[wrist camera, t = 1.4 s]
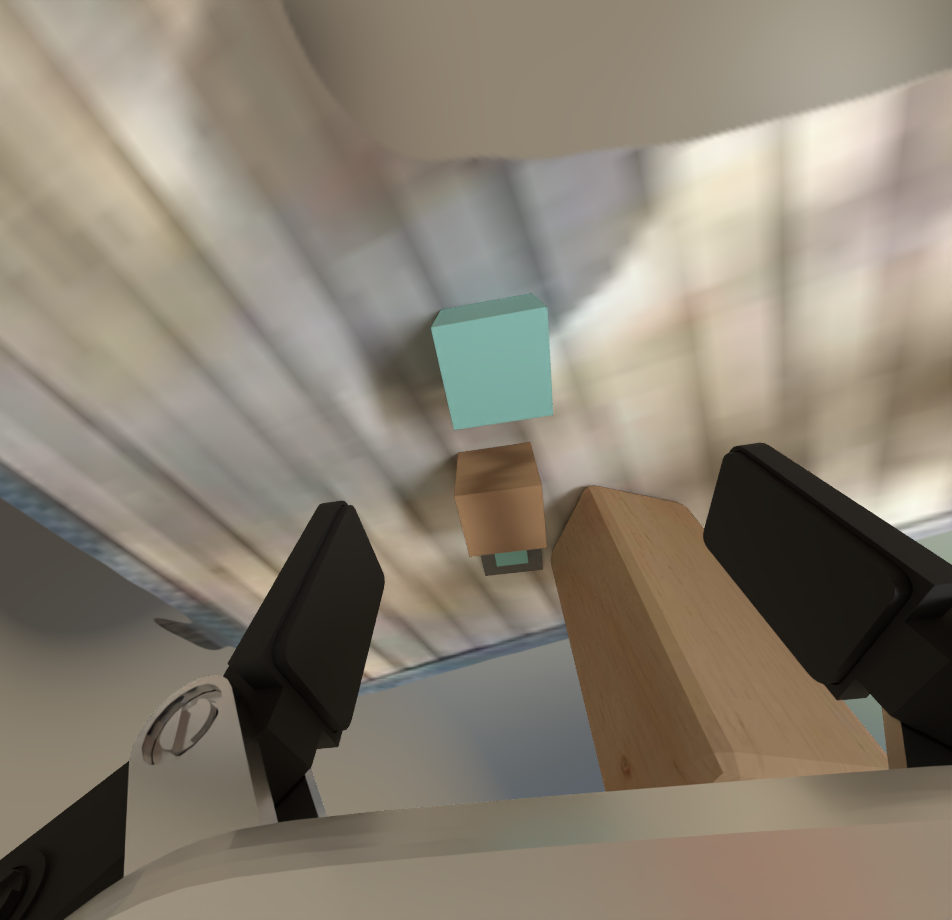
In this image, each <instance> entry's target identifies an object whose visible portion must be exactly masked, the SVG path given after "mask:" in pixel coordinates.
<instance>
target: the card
mask: <svg viewBox="0 0 952 920" xmlns="http://www.w3.org/2000/svg"><path fill="white" fill-rule="evenodd" d="M481 558H482V563H483V567H484V571H485V576H489V575H498V574H507V573H516V572H524V571H533V570H542V569H543V566H542V556H541V548H540V549H532V550H523V551H515V552H506V553H497V554H489V555H481Z"/></svg>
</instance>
